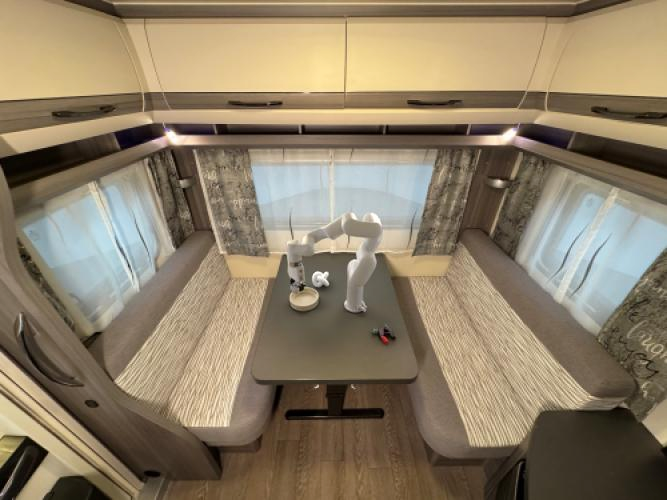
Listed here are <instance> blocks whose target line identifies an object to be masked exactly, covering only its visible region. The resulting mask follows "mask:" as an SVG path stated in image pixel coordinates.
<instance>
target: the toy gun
mask: <svg viewBox="0 0 667 500" xmlns="http://www.w3.org/2000/svg"><path fill="white" fill-rule="evenodd" d="M371 333H372V334H373V335H377V334H378V336H379V339H381V340H382V342H383V343H384V344H387V345H388V344H389V342H390V341H389V340H388V339H387V337H389V338H390V339H391V340H396V335H395V333H394V331H393V328H391V327H389V326H388V325H387V324H386V323H384V325H383V327H379V328H373V329H372V330H371Z"/></svg>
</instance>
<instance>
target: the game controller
mask: <svg viewBox="0 0 667 500" xmlns="http://www.w3.org/2000/svg"><path fill="white" fill-rule="evenodd" d="M300 283H301V284H302V281H301V282H300ZM304 287H307V282H306V283H305V284H304ZM298 288H299V283H298V282H297V281H295V282H294V283H293V284H290V285H289V289H290V291H292V292H294V293H295V294H297V293H298V292H297V289H298Z"/></svg>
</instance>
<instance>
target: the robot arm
mask: <svg viewBox="0 0 667 500" xmlns="http://www.w3.org/2000/svg"><path fill="white" fill-rule="evenodd" d="M343 235H346V236H349V237H353V238H363V240H362V242H361V244H360V245H359V246H358V249H357V250H356V254H355V255H356V259H352V260H350V261H349V262H348V264H347V267H346V275H347V278H346V279H347V281H346V283H347V285H346V299H345V300H344V304H343V306H344V309H345V310H346V311H348V312H350V313H360V312H364V313H366V312H367V308H368V306H367V305H366V303H365V301H364V286H365V285H366V284H367V282H368V281H369V279H370V278H371V277H372V274H373V272H374V271H375V269H376V267H377V258H376V251H377V250H378V248H379V246H380V243H381V242H382V239H383V225H382V221H381V219H380V218H379V216H378V215H377V214H376V213H374V212H367V213H366V214H364V216H363V218H362V220H359V219H358V217H357V216H356V214H355V213H354V212H352V211H347V212H344V213H343V214H341V215H340V216H339V217H337V218H335V219H333V220H332V221H331V222H329V223H328V224H326V225H324V226H319V227H317V228H315V229H312V230H311V231H309V232H308V233H307V234H304V236H303V237H302V239H301V242H300V241H299V240H298V239H289V240H287V242H286V243H285V246H286V247H285V248H286V258H287V270H286V272H287V274H288V278H289V282H290V283H289V284H290V285H291V284H293V283H294V282H295V281H297V282H298V283H299V287H298V288H299V292H301V291H303V290H304V287H305V286H304V284H305V283H306V284H307V280H306V273H305V268H304V265H303V258H302V257H306V258H307V257H313V256H314V255H315V253H316V244H317V243H319V242H320V241H322V240H325V239H329V240H332V241H335V240H337V239H339V238H340V237H341V236H343ZM301 281H302V284H301V283H300V282H301Z"/></svg>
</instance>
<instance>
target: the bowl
mask: <svg viewBox="0 0 667 500" xmlns="http://www.w3.org/2000/svg"><path fill="white" fill-rule="evenodd" d="M297 292H298V293H297V294H295V293H294V292H293V291H292V292H291V293H290V294H289V305H290V306H291V308H292V309H294V310H295V311H299V312H307V311H311V310H313V309H315V308H316V307H317V306H318V305H319V302H320V295H319V294H320V293H319V292H318V291H317V289H315V288H313V287H309V286H304V290H303V291H301V292H299V287H298V288H297Z"/></svg>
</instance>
